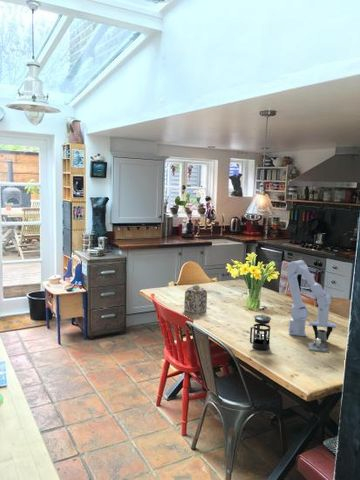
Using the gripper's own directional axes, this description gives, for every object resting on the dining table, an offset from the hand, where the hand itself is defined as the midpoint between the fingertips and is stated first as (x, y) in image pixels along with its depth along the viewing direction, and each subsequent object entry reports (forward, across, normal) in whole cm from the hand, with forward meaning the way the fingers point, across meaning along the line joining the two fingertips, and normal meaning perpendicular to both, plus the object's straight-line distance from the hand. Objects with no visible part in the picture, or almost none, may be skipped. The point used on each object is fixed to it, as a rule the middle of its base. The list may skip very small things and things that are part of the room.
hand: (321, 338), depth 231 cm
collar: (+1, 0, 0) cm, 1 cm away
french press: (+2, -34, -19) cm, 39 cm away
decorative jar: (+2, -80, +35) cm, 87 cm away
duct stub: (+1, -3, -11) cm, 11 cm away
